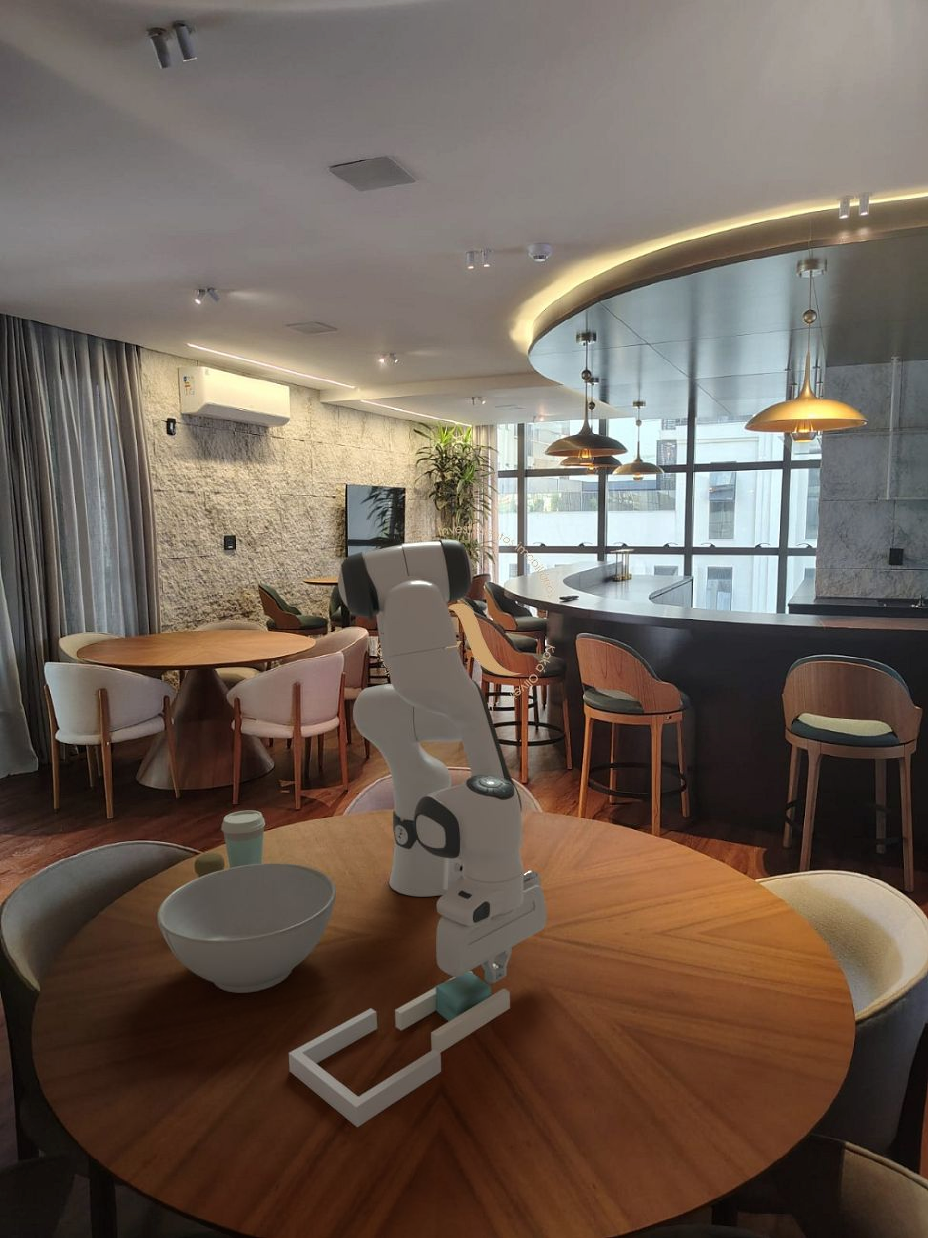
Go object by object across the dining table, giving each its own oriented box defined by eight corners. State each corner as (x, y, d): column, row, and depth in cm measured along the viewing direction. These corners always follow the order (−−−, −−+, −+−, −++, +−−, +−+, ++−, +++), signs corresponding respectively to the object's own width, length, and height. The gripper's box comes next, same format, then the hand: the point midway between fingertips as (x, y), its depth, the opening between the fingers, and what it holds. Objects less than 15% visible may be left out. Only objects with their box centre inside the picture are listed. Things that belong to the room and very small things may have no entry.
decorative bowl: (123, 1002, 120) (116, 924, 119) (236, 919, 145) (232, 854, 144) (275, 1039, 110) (270, 954, 109) (369, 943, 135) (366, 874, 134)
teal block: (470, 997, 119) (469, 971, 119) (491, 1013, 115) (490, 986, 115) (436, 1012, 116) (435, 986, 115) (457, 1029, 112) (456, 1001, 111)
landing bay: (371, 1025, 113) (370, 1008, 112) (441, 1071, 103) (440, 1053, 102) (289, 1071, 104) (288, 1053, 103) (357, 1127, 93) (356, 1107, 93)
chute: (467, 985, 122) (467, 969, 122) (510, 1008, 116) (509, 991, 115) (395, 1027, 112) (394, 1010, 112) (437, 1054, 106) (437, 1036, 106)
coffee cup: (276, 867, 167) (272, 811, 166) (252, 885, 159) (248, 826, 158) (240, 863, 170) (237, 807, 168) (215, 880, 162) (211, 822, 160)
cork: (235, 906, 150) (231, 849, 149) (222, 922, 144) (218, 862, 143) (203, 905, 151) (199, 848, 150) (189, 921, 145) (185, 862, 144)
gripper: (523, 861, 127) (525, 944, 129) (427, 906, 113) (431, 999, 115) (555, 872, 123) (556, 958, 124) (459, 920, 109) (462, 1017, 110)
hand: (495, 978), depth 119 cm, fingers closed
